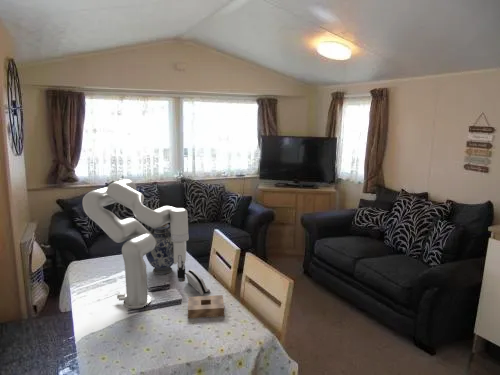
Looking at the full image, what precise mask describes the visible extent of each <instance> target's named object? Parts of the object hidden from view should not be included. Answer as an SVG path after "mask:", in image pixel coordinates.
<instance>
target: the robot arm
mask: <svg viewBox="0 0 500 375" xmlns="http://www.w3.org/2000/svg"><path fill="white" fill-rule="evenodd" d="M144 201H145V196H144V194H143V193H142V192H139V191H138V190H137V185H136V183H135V182H134V181H132V180H131V179H127V178H126V179H121V180H117V181H113V182H111V183H110V184H108V185H107V186H105V187H102V188H98V189H93V190H91V191H89V192H88V193H85V195H84V196H83V198H82V208H83V212H84V213H85V214H86V215H87V217H88V218H89V219H90V220H91V221H93V222H94V223H95V224H96V225H98V226H99V228H100V229H101V230H103V232H104V233H105V234H106V235H107V236H108V237H109V238H110V239H111V240H112V241H113V242H114V243H120V244H121V243H123V242H124V243H123V245H122V246H121V256H122V259H123V263H124V264H123V265H124V274H125V291H126V292H125V293H124V294H122V293H121V294H117V295H116V298H117V300H118V301H119V302H121V301H123V306H124V307H125V308H127V309H131V310H132V309H134V310H135V309H142V308H144V306H145V307H147V306H148V305H147V304H149V303H150V304H151V302H152V297H151V296H150V295H148V294H149V293H148V278H147V276H148V273H147V263H146V261H145V259H144V256H146V254H147V253H149V252H150V251H152V250H153V249H154V248H155V245H156V242H155V239H154V237H153V236H152V234H151V233H150V231H149V229H148V228H146V227H145V226H144V225H146V226H147V225H148V226H150V227H154V228H158V227H161V226H163V225H165V224H167V223H168V224H169V223H170V224H169V226H170V227H169V228H171V241H172V242H174V243H173V251H174V264H173V265H177V269H176V271H177V272H176V273H177V279H178V278H185V279H186V274H185V273H186V268H185V269H184V263H185V264H186V258H187V241H189V220H188V219H189V218H188V217H189V215H188V210H187V209H186V208H184V207H174V206H170V205H163V206H161V207H158V208H156V209H154V210H153V209H151V208H149V207H148V206H145V205H144ZM115 203H118V204H120V205H122V206H123V207H125V208H127V209H130V210H131V211H132V214H133V215H134V217H135V218H134V217H126V218H124V219H120V218H119V217H118V216H117V215H116V214H115V213H114V212H112V211H111V210H109V209H106V208H104V207H107V206H109V205H112V204H115ZM143 224H144V225H143ZM125 241H126V242H125ZM178 262H179V263H178ZM182 264H183V266H182ZM150 304H149V305H150ZM146 305H147V306H146Z"/></svg>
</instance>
